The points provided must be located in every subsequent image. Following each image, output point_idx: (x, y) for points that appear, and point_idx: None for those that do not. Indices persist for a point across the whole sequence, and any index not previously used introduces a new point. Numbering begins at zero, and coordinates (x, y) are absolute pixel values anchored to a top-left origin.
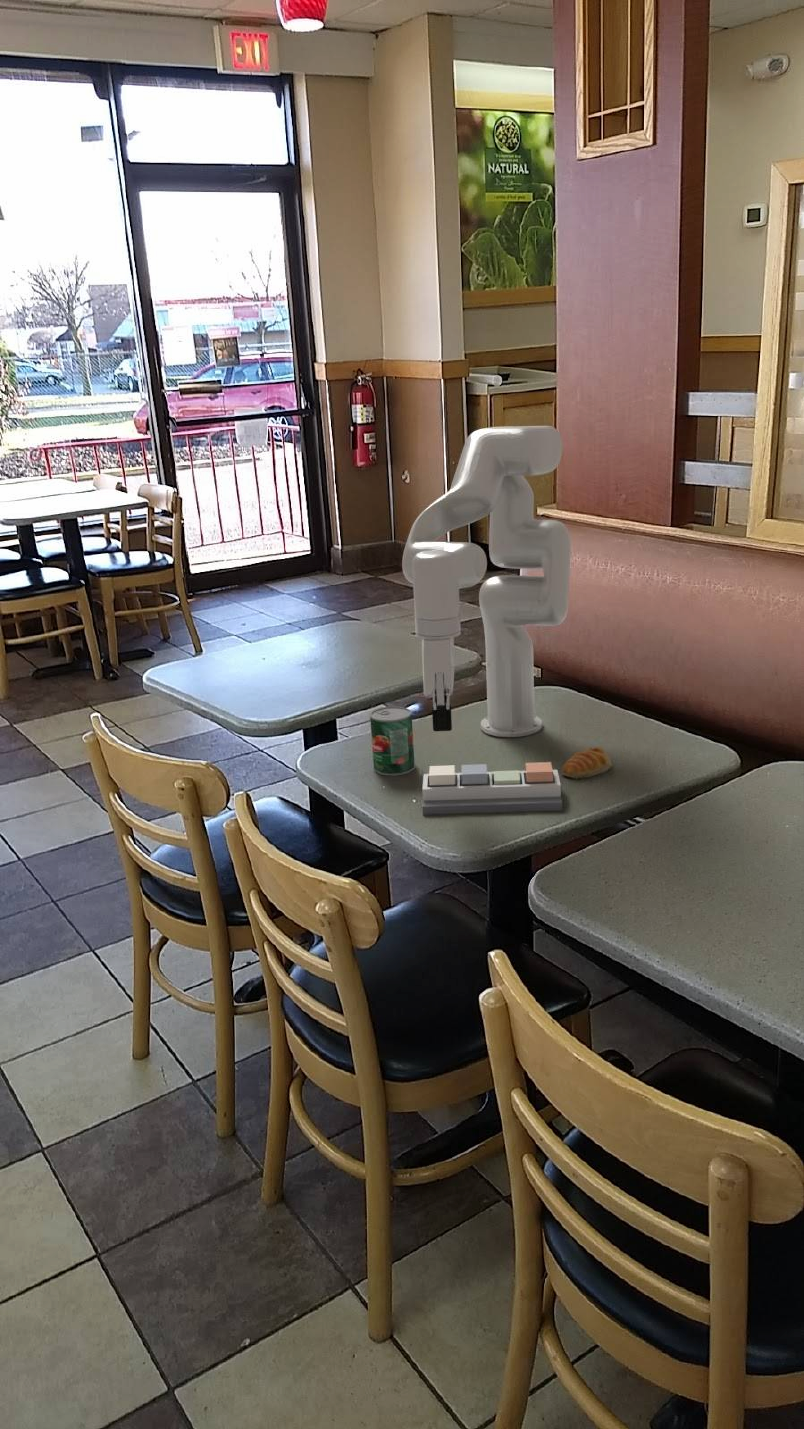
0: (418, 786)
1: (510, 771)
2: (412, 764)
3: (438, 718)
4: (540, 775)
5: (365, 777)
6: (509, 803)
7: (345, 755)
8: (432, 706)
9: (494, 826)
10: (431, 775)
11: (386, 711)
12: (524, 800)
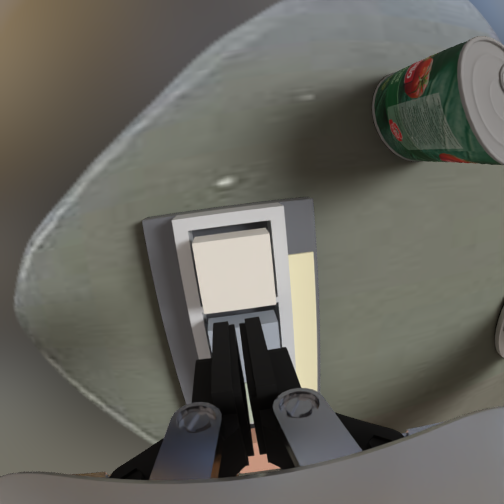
0: (312, 179)
1: None
2: (409, 157)
3: (194, 390)
4: None
5: (358, 54)
6: (184, 391)
7: (451, 27)
8: (274, 385)
9: (119, 360)
10: (193, 251)
11: None
12: None
